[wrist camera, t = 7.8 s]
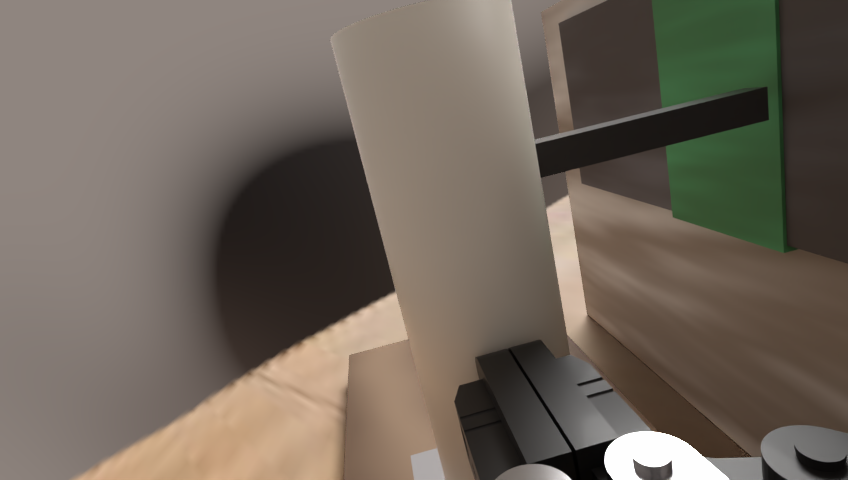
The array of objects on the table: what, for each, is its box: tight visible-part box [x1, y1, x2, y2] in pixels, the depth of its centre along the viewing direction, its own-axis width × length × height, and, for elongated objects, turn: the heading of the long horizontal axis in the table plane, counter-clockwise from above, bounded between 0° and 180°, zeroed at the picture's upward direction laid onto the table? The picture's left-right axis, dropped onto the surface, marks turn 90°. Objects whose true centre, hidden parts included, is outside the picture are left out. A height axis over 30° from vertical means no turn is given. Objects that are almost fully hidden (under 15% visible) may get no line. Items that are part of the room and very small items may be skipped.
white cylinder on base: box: [330, 0, 769, 480], centre depth 13 cm, size 11×6×15 cm, turn 97°
